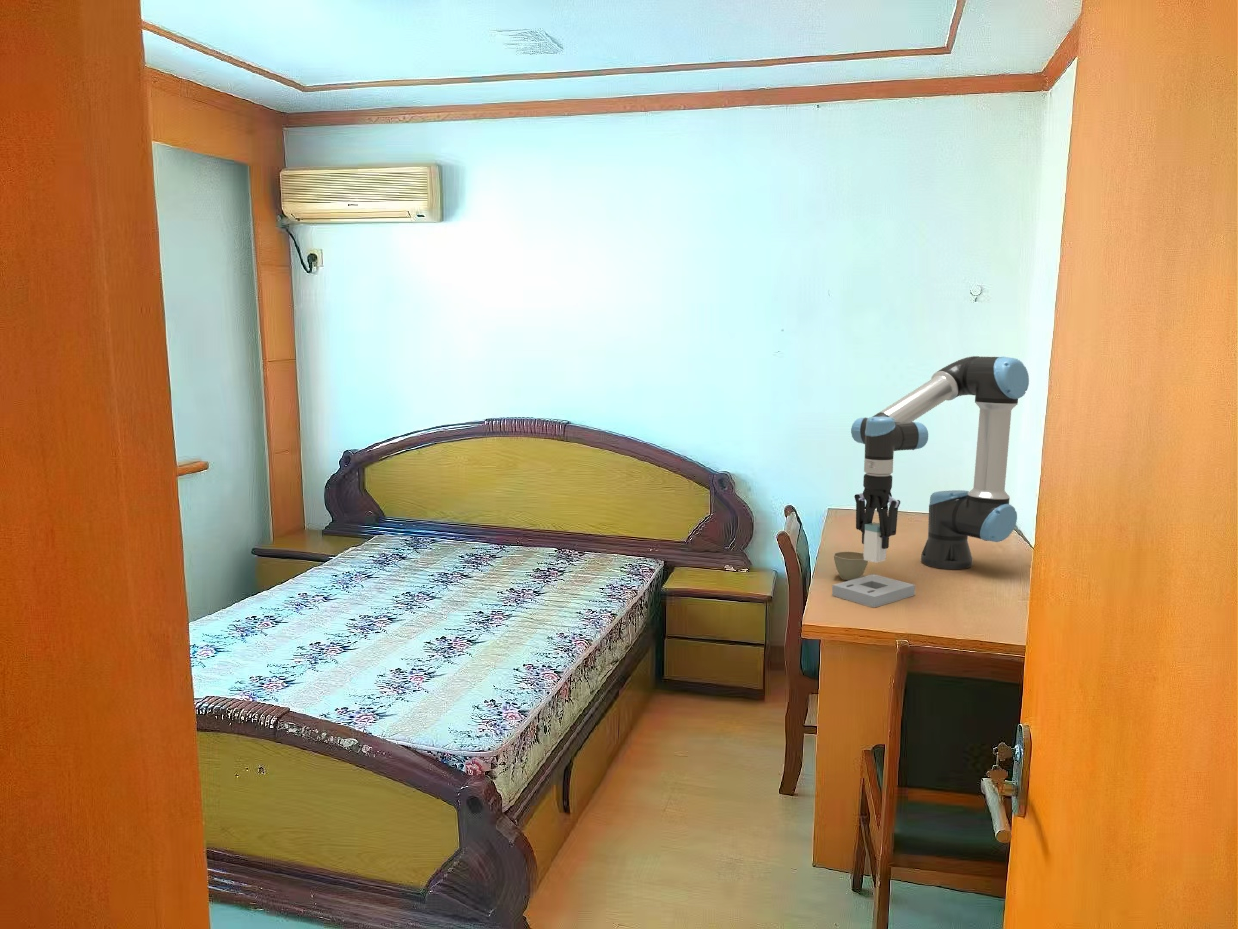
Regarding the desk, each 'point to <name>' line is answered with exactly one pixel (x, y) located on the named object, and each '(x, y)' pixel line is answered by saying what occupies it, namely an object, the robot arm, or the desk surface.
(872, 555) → the block
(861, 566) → the flower pot
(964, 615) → the desk surface
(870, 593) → the outlet plate
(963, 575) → the desk surface
